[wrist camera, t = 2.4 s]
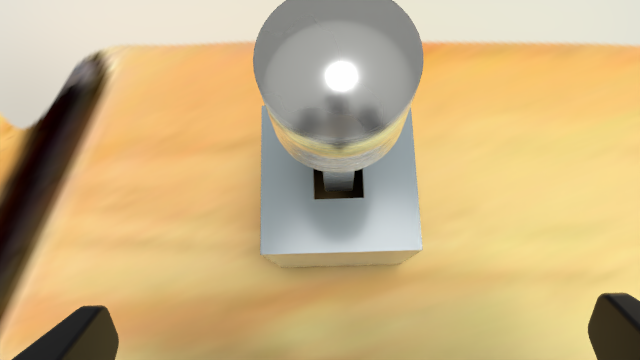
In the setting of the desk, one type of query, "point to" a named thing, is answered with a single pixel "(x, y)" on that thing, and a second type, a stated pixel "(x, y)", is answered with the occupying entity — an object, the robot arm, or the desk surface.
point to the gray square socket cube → (339, 209)
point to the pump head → (338, 81)
